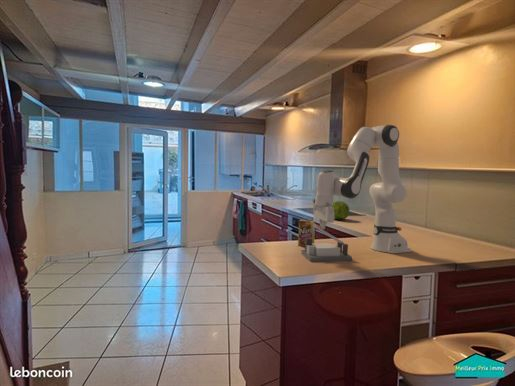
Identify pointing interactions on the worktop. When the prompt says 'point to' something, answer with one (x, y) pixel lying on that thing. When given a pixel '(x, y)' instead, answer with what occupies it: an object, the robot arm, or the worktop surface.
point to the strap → (327, 233)
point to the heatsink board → (327, 258)
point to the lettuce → (340, 210)
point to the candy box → (306, 231)
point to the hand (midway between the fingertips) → (322, 228)
